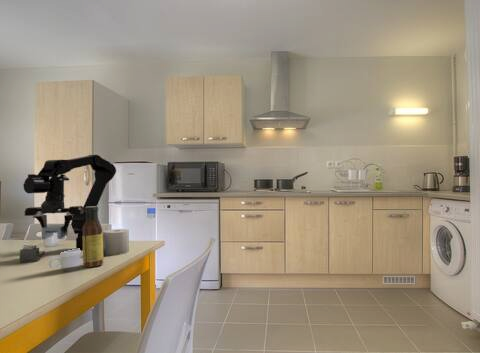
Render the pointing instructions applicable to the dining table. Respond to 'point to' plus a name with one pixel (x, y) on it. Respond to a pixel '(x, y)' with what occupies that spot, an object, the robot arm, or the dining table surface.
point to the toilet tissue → (115, 241)
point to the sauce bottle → (92, 238)
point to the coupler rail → (30, 254)
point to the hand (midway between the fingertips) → (55, 233)
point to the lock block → (54, 231)
